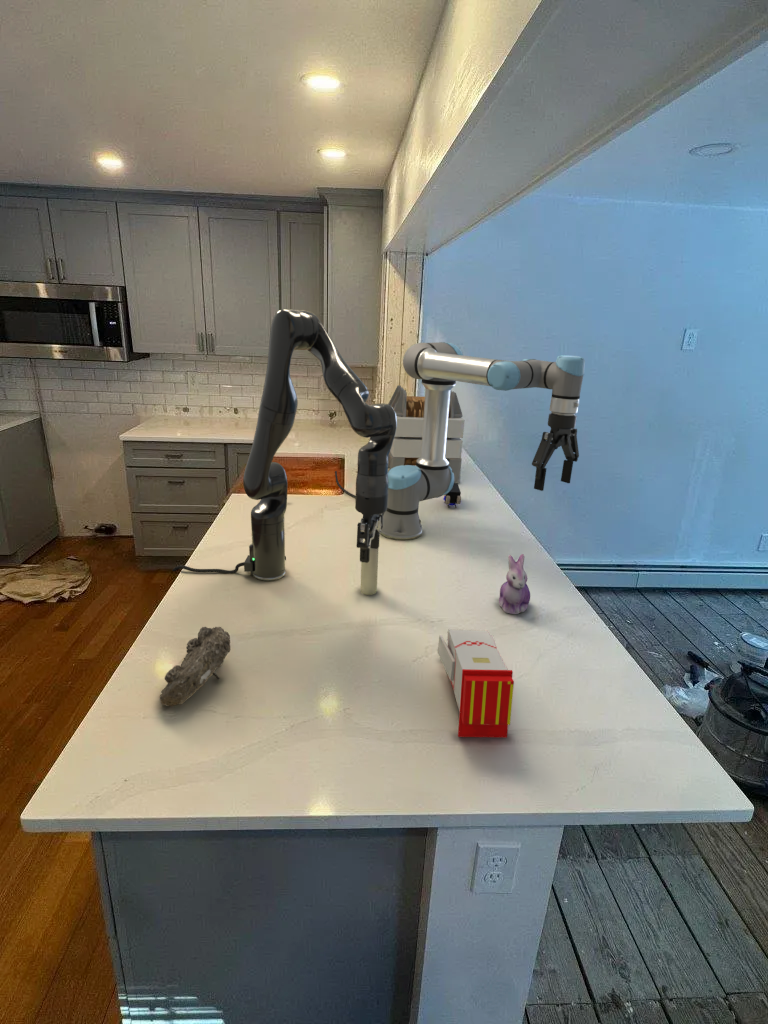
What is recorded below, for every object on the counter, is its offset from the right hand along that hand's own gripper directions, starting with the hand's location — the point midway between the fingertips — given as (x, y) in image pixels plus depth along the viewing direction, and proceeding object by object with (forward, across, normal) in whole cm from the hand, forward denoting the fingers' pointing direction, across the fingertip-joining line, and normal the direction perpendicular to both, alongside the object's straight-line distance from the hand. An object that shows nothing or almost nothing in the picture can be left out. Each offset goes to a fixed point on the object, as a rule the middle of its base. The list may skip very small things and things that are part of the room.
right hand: (552, 485), depth 166 cm
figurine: (+28, -24, -9) cm, 38 cm away
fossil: (+28, -103, +12) cm, 108 cm away
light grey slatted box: (+28, +46, +101) cm, 115 cm away
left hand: (+9, -61, +9) cm, 63 cm away
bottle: (+28, -50, +22) cm, 62 cm away
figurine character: (+28, +25, +60) cm, 71 cm away
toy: (+28, -62, -26) cm, 72 cm away
